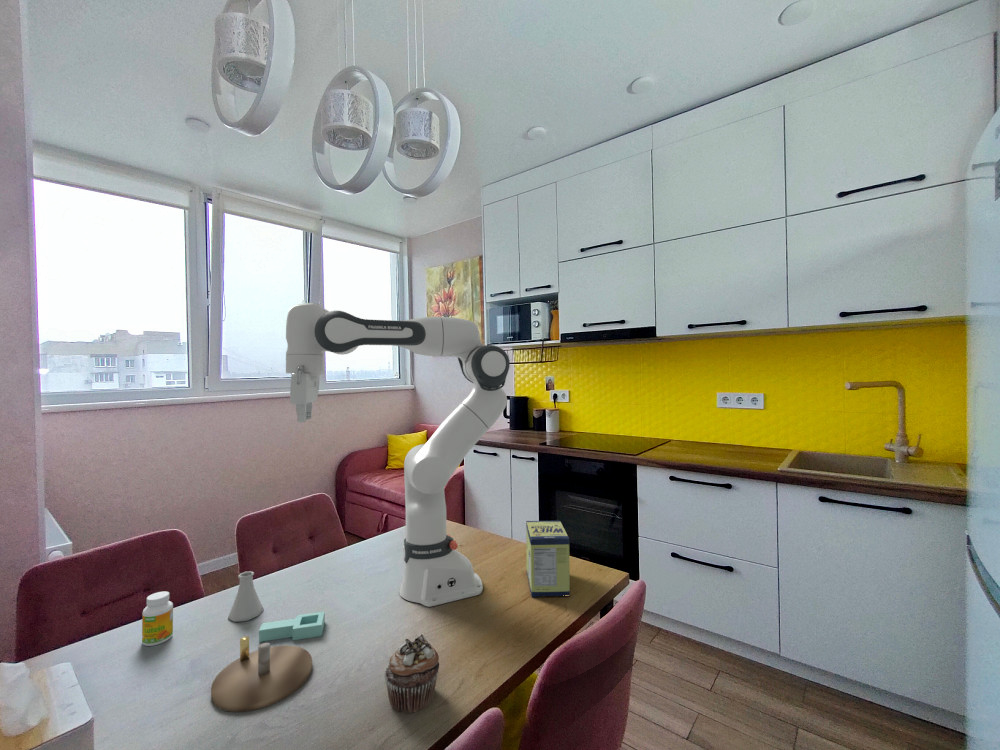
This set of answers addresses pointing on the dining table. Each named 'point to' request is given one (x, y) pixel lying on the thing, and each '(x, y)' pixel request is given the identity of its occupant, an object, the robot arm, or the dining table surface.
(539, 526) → the protein box
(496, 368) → the robot arm
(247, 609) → the flask
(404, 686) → the cupcake
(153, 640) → the supplement bottle
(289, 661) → the disc base
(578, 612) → the dining table surface
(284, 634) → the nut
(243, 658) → the dowel
